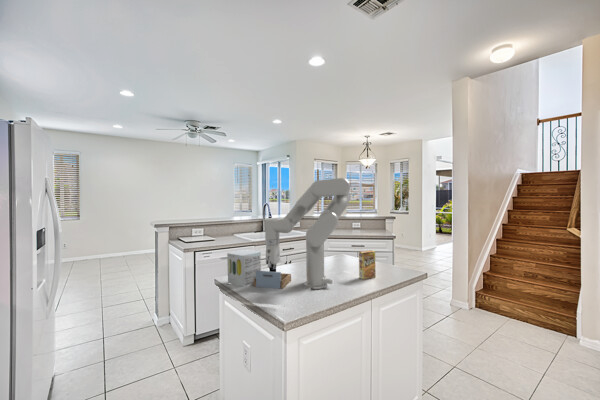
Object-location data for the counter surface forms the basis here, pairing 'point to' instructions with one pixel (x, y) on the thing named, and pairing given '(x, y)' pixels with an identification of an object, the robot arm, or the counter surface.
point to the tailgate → (268, 279)
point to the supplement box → (243, 266)
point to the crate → (284, 280)
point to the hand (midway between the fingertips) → (272, 276)
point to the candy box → (367, 264)
